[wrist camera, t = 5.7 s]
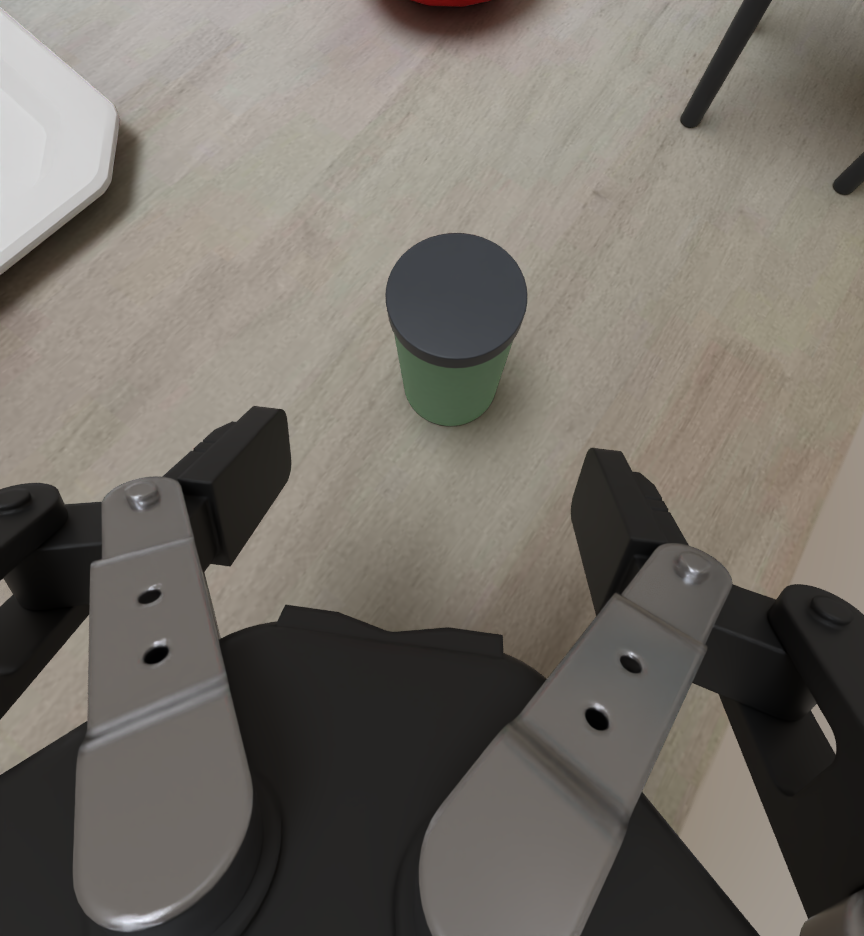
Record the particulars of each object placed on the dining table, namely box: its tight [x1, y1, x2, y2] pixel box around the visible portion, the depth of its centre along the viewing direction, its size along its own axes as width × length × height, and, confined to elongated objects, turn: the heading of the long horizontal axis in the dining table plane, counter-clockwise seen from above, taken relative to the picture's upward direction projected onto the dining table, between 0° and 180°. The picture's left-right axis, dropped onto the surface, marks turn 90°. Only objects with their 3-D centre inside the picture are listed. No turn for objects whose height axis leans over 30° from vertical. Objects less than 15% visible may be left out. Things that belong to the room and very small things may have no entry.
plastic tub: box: [386, 233, 527, 426], centre depth 20 cm, size 5×5×8 cm
